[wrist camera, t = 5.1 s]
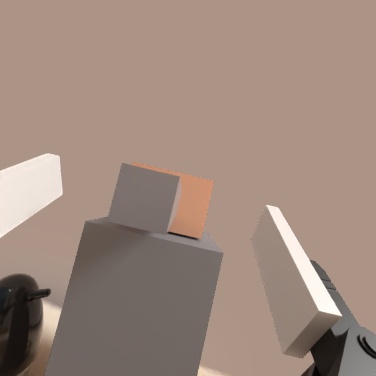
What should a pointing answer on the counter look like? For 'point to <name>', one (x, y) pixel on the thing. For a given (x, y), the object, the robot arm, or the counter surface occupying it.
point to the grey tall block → (135, 303)
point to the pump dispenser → (20, 322)
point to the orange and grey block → (160, 200)
